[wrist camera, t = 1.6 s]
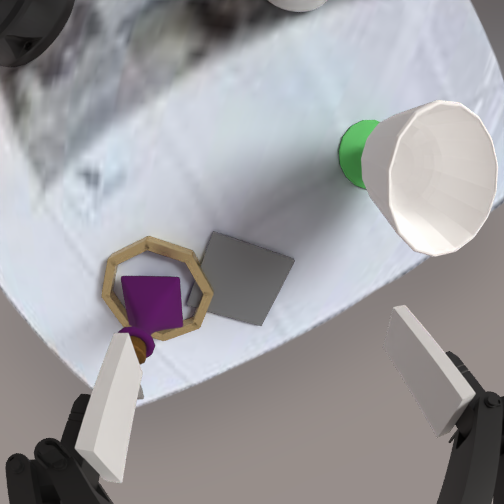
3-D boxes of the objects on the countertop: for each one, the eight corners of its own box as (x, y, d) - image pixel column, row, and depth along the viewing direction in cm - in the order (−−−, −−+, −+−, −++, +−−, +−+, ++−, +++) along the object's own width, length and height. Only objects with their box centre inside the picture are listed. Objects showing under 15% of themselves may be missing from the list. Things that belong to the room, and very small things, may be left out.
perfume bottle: (127, 264, 38) (79, 358, 21) (182, 265, 39) (162, 366, 22) (134, 311, 41) (101, 411, 24) (185, 313, 42) (173, 418, 25)
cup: (297, 145, 34) (352, 166, 20) (376, 81, 31) (461, 71, 17) (360, 226, 39) (426, 285, 25) (428, 164, 36) (511, 195, 22)
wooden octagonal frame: (101, 313, 40) (98, 319, 39) (117, 225, 36) (114, 229, 34) (192, 342, 44) (191, 349, 43) (224, 260, 39) (225, 266, 38)
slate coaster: (187, 302, 41) (186, 305, 40) (213, 231, 37) (213, 232, 37) (260, 323, 44) (261, 326, 43) (293, 258, 40) (294, 260, 39)
